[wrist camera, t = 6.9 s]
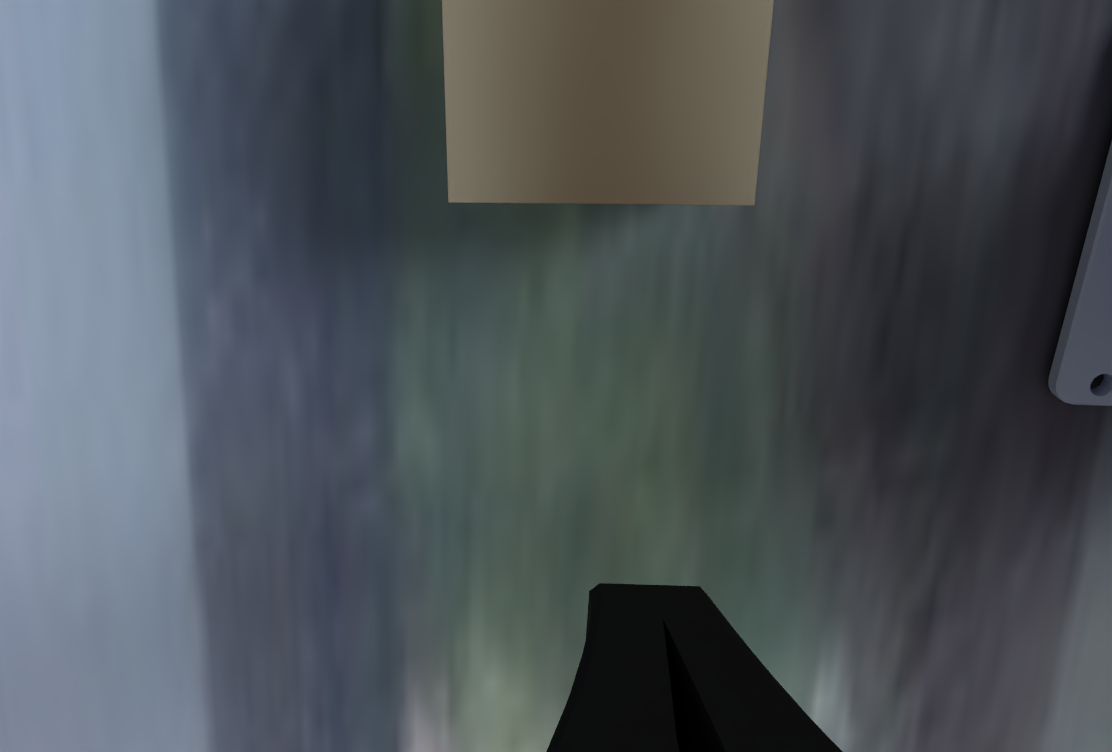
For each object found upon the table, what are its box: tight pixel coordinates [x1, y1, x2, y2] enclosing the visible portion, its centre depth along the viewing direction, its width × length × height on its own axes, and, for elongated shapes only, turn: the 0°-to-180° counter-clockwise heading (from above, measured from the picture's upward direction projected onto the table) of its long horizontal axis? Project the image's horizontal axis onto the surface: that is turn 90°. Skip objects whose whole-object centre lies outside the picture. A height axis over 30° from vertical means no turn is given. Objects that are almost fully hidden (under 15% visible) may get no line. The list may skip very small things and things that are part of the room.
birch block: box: [442, 0, 774, 205], centre depth 15 cm, size 5×5×4 cm
